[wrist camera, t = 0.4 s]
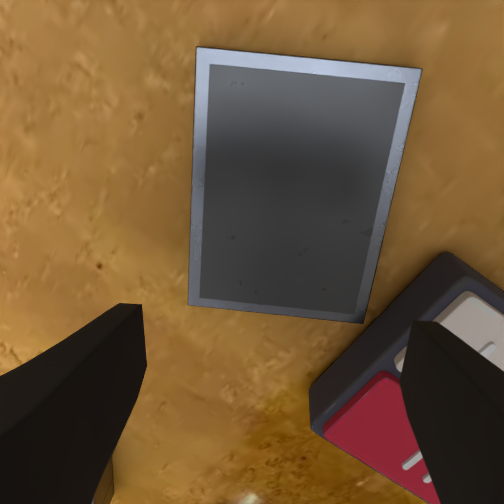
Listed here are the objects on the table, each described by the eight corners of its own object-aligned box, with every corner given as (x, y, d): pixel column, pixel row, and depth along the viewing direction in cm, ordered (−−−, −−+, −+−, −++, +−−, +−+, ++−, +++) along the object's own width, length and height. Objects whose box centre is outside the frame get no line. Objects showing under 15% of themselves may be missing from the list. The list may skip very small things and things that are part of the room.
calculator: (473, 280, 17) (723, 463, 19) (440, 242, 21) (650, 397, 23) (306, 440, 21) (528, 577, 23) (304, 383, 25) (494, 504, 27)
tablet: (360, 314, 23) (364, 325, 22) (190, 296, 23) (186, 306, 22) (416, 67, 18) (424, 68, 17) (199, 46, 18) (194, 45, 17)
